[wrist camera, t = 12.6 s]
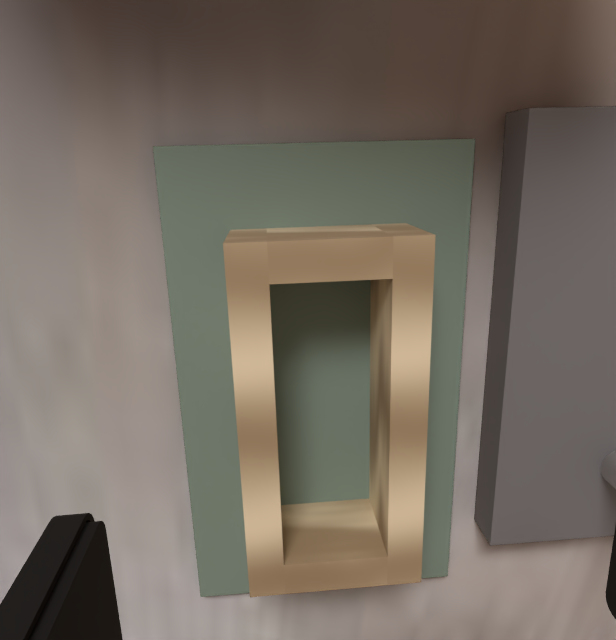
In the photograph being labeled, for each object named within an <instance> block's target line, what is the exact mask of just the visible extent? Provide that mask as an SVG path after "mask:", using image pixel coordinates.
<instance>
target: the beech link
mask: <svg viewBox="0 0 616 640" xmlns="http://www.w3.org/2000/svg"><path fill="white" fill-rule="evenodd" d="M435 237H436V235H435V234H432V233H430V232H427V231H424V230H422V229H419V228H417V227H414V226H412V225H409V224H407V223H394V224H368V225H342V226H316V227H290V228H264V229H239V230H230V232H229V233H228V235H227V237H226V239H225V241H224V243H223V250H224V263H225V277H226V290H227V303H228V316H229V329H230V342H231V355H232V368H233V381H234V395H235V408H236V421H237V434H238V447H239V460H240V473H241V486H242V499H243V513H244V526H245V539H246V552H247V565H248V578H249V591H250V597H257V596H269V595H280V594H292V593H303V592H314V591H326V590H337V589H349V588H360V587H372V586H383V585H395V584H406V583H418V582H421V574H422V550H423V525H424V501H425V477H426V453H427V429H428V405H429V381H430V357H431V333H432V309H433V285H434V261H435ZM355 280H371V293H370V465H369V499H356V500H343V501H330V502H316V503H303V504H290V505H281V497H280V478H279V458H278V439H277V419H276V400H275V381H274V361H273V342H272V323H271V303H270V284H290V283H312V282H334V281H355Z"/></svg>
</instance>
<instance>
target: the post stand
mask: <svg viewBox="0 0 616 640" xmlns="http://www.w3.org/2000/svg"><path fill="white" fill-rule="evenodd" d="M474 519H475V521H476V522H477V524H478V526H479V528H480V529H481V531H482V533H483V534H484V536H485V538H486V539H487V541H488V543H489V544H490V545H502V544H515V543H527V542H540V541H552V540H565V539H577V538H590V537H602V536H614V533H615V526H616V106H606V107H556V108H528V109H523V110H519V111H514V112H510V113H506V122H505V135H504V148H503V161H502V173H501V186H500V199H499V212H498V224H497V237H496V250H495V263H494V275H493V288H492V301H491V314H490V326H489V339H488V352H487V365H486V377H485V390H484V403H483V416H482V428H481V441H480V454H479V467H478V479H477V492H476V505H475V518H474Z"/></svg>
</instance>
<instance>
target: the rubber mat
mask: <svg viewBox="0 0 616 640" xmlns="http://www.w3.org/2000/svg"><path fill="white" fill-rule="evenodd" d="M474 150H475V139H440V140H399V141H357V142H315V143H273V144H231V145H190V146H153V153H154V163H155V172H156V181H157V191H158V200H159V210H160V219H161V228H162V238H163V247H164V257H165V266H166V276H167V285H168V294H169V304H170V313H171V323H172V332H173V341H174V351H175V360H176V370H177V379H178V388H179V398H180V407H181V417H182V426H183V435H184V445H185V454H186V464H187V473H188V482H189V492H190V501H191V511H192V520H193V529H194V539H195V548H196V558H197V567H198V577H199V586H200V595H201V597H206V596H218V595H230V594H241V593H250V591H249V578H248V565H247V552H246V539H245V526H244V513H243V499H242V486H241V473H240V460H239V447H238V434H237V421H236V408H235V395H234V381H233V368H232V355H231V342H230V329H229V316H228V303H227V290H226V277H225V263H224V250H223V243H224V241H225V239H226V237H227V235H228V233H229V232H230V230H239V229H264V228H290V227H316V226H342V225H368V224H394V223H407V224H409V225H412V226H414V227H417V228H419V229H422V230H424V231H427V232H430V233H432V234H435V235H436V237H435V261H434V285H433V309H432V333H431V357H430V381H429V405H428V429H427V453H426V477H425V501H424V525H423V550H422V574H421V578H432V577H444V576H448V562H449V546H450V530H451V514H452V498H453V483H454V467H455V451H456V435H457V419H458V404H459V388H460V372H461V356H462V340H463V324H464V309H465V293H466V277H467V261H468V245H469V229H470V214H471V198H472V182H473V166H474ZM370 293H371V280H355V281H334V282H312V283H290V284H270V303H271V323H272V342H273V361H274V381H275V400H276V419H277V439H278V458H279V478H280V497H281V505H290V504H303V503H316V502H330V501H343V500H356V499H369V465H370Z"/></svg>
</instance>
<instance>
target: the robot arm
mask: <svg viewBox="0 0 616 640" xmlns="http://www.w3.org/2000/svg"><path fill="white" fill-rule="evenodd" d="M606 601H607V604H608V607H609V609H610V611H611V613H612V615H613V616H614V618H615V619H616V526H615V533H614V540H613V546H612V553H611V560H610V567H609V574H608V581H607V588H606ZM0 640H122V633H121V627H120V620H119V613H118V607H117V600H116V594H115V587H114V580H113V574H112V567H111V560H110V554H109V547H108V541H107V534H106V528H105V524H104V522H102V521H96V522H94V518H93V516H92V514H90V513H85V514H73V515H62V516H55V517H53V518H52V519H51V521H50V522H49V524H48V525H47V527H46V529H45V530H44V532H43V534H42V536H41V537H40V539H39V541H38V542H37V544H36V546H35V547H34V549H33V551H32V552H31V554H30V556H29V557H28V559H27V561H26V562H25V564H24V566H23V567H22V569H21V571H20V572H19V574H18V576H17V577H16V579H15V581H14V583H13V584H12V586H11V588H10V589H9V591H8V593H7V594H6V596H5V598H4V599H3V601H2V603H1V604H0Z"/></svg>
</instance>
